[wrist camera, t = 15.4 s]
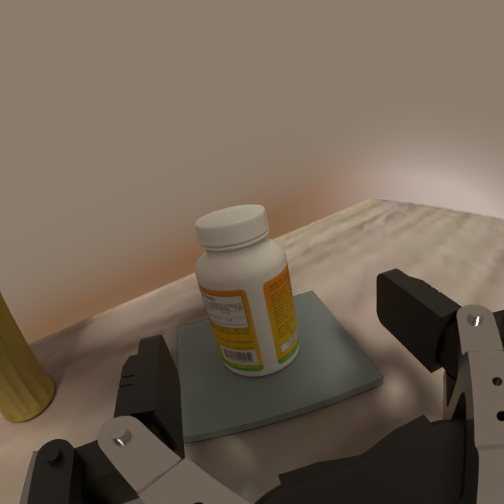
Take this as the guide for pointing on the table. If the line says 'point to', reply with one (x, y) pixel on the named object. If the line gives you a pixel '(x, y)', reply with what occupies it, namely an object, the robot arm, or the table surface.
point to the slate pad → (269, 376)
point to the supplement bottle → (246, 291)
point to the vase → (20, 374)
